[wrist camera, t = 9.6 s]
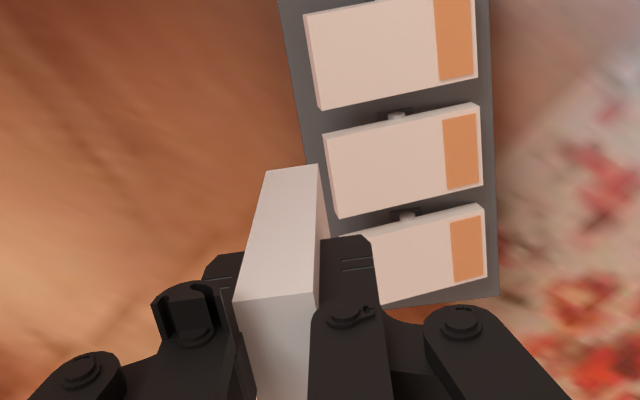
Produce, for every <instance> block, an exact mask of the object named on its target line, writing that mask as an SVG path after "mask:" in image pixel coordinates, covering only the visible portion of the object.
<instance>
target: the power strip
mask: <svg viewBox="0 0 640 400" xmlns="http://www.w3.org/2000/svg"><path fill="white" fill-rule="evenodd" d="M371 1H375V0H277V4H278V9H279V15H280V20H281V26H282V31H283V37H284V42H285V48H286V54H287V59H288V65H289V70H290V76H291V81H292V87H293V92H294V98H295V104H296V109H297V115H298V120H299V126H300V131H301V137H302V142H303V148H304V153H305V159H306V165H310V164H316V163H318V167H319V173H320V178H321V184H322V190H323V196H324V202H325V208H326V213H327V219H328V225H329V231H330V237H331V238H335V237H339V236H340V235H344V234H349V233H353V232H357V231H361V230H365V229H369V228H373V227H377V226H381V225H385V224H389V223H393V222H397V221H400V218H399V215H400V214H401V213H404V212H413V213H415V217H418V216H422V215H426V214H430V213H434V212H438V211H442V210H446V209H450V208H454V207H458V206H462V205H466V204H470V203H475V202H476V203H477V204H479V205H480V206H481V207H482V208H483V209H484V214H485V236H486V257H487V277H485V278H482V279H478V280H474V281H470V282H466V283H463V284H459V285H455V286H451V287H448V288H444V289H440V290H436V291H433V292H429V293H425V294H421V295H417V296H414V297H410V298H406V299H402V300H399V301H395V302H391V303H387V304H384V305H381V307H382V309H383V310H389V309H397V308H405V307H413V306H421V305H429V304H437V303H445V302H453V301H461V300H469V299H477V298H485V297H493V296H500V292H499V265H498V237H497V210H496V183H495V156H494V128H493V101H492V74H491V46H490V19H489V0H475V20H476V41H477V63H478V78H473V79H469V80H464V81H459V82H455V83H450V84H445V85H441V86H436V87H431V88H427V89H422V90H417V91H413V92H408V93H404V94H399V95H394V96H390V97H385V98H380V99H376V100H371V101H366V102H362V103H357V104H352V105H348V106H343V107H338V108H334V109H329V110H325V111H321V110H320V108H319V107H318V106H317V100H316V94H315V88H314V82H313V76H312V70H311V64H310V58H309V52H308V46H307V39H306V33H305V27H304V21H303V14H309V13H314V12H319V11H324V10H330V9H335V8H340V7H345V6H350V5H356V4H361V3H366V2H371ZM467 102H472V103H474V104H476V105H478V106H480V125H481V146H482V168H483V185H482V186H478V187H474V188H469V189H465V190H461V191H457V192H452V193H448V194H444V195H440V196H436V197H431V198H427V199H423V200H419V201H414V202H410V203H406V204H402V205H398V206H393V207H389V208H385V209H381V210H376V211H372V212H368V213H364V214H360V215H355V216H351V217H347V218H343V219H339V218H338V217H337V215H336V213H335V211H334V205H333V198H332V192H331V186H330V180H329V174H328V168H327V162H326V156H325V150H324V144H323V138H322V134H325V133H329V132H334V131H339V130H343V129H348V128H352V127H357V126H362V125H366V124H371V123H375V122H380V121H385V120H388V114H390V113H393V112H404V113H405V116H408V115H412V114H417V113H421V112H426V111H431V110H435V109H440V108H444V107H449V106H454V105H458V104H463V103H467Z"/></svg>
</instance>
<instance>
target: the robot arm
mask: <svg viewBox="0 0 640 400" xmlns="http://www.w3.org/2000/svg"><path fill="white" fill-rule="evenodd" d="M150 306H151V309H152V311H153V314H154V317H155V320H156V323H157V326H158V329H159V332H160V335H161V338H162V342H161V345H160V347H159V350H158V352H157V354H156V355H153V356H151V357H149V358H146V359H143V360H140V361H137V362H134V363H131V364H128V365H125V366H123V367H121V365H120V362H119V360H118V358H117V357H116V356H115V355H114V354H113V353H109V352H105V351H99V352H90V353H86V354H83V355H79V356H77V357H75V358H73V359H71V360H70V361H68V362H66V363H64V364H62V365H61V366H60V367H59V368H58V369H56V370H55V371H54V372H53V373H52V374H51V375H50V376H49V377H48V378H47V379H46V380H45V381H44V382H43V383H42V384H41V385H40V387H39V388H38V389H37V390H36V391H35V392H34V393H33V394H32V395H31V396H30V397H29V398H28V399H27V400H256V396H257V399H258V400H571V398H570V397H569V396H568V395H567V394H566V393H565V392H564V391H563V390H562V389H561V387H560V386H559V385H558V384H557V383H556V382H555V381H554V380H553V379H552V378H551V376H550V375H549V374H548V373H547V372H546V371H545V370H544V369H543V368H542V366H541V365H540V364H539V363H538V362H537V361H536V360H535V359H534V358H533V357H532V355H531V354H530V353H529V352H528V351H527V350H526V349H525V348H524V347H523V346H522V344H521V343H520V342H519V341H518V340H517V339H516V338H515V337H514V336H513V334H512V333H511V332H510V331H509V330H508V329H507V328H506V327H505V326H504V325H503V323H502V322H501V321H500V320H499V319H498V318H497V317H496V316H495V315H493V314H492V313H491V312H489V311H488V310H486V309H483V308H480V307H477V306H474V305H461V304H458V305H452V306H445V307H443V308H440V309H438V310H436V311H433V312H432V313H431V314H430V315H429V316H428V317H427V318H426V319H425V321H424V324H423V325H418V324H410V323H405V322H401V321H398V320H396V319H393V318H392V317H390V316H389V315H387V314H386V313H385V312H384V311H383V309H382V307H381V305H380V301H379V294H378V287H377V280H376V273H375V267H374V260H373V253H372V246H371V243H370V242H369V241H368V240H367V239H366V238H365V237H364V236H363V235H362V234H357V235H350V236H343V237H335V238H331V237H330V231H329V225H328V219H327V213H326V208H325V202H324V196H323V190H322V184H321V178H320V173H319V167H318V163H316V164H310V165H303V166H296V167H289V168H282V169H275V170H268V171H266V174H265V178H264V182H263V185H262V189H261V193H260V197H259V201H258V204H257V208H256V212H255V216H254V220H253V223H252V227H251V231H250V235H249V239H248V242H247V246H246V250H245V251H243V252H236V253H228V254H221V255H218V256H217V257H216V258H215V259H214V260H213V261H212V262H211V263H210V264H209V265H208V266H207V267H206V269H205V271H204V274H203V277H202V279H201V280H196V281H189V282H185V283H180V284H178V285H175V286H173V287H171V288H168V289H166V290H165V291H164V292H162V293H161V294H159V295H158V296H157V297H156V298H155V299H154V300H153V302H152V303H151V304H150Z"/></svg>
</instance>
